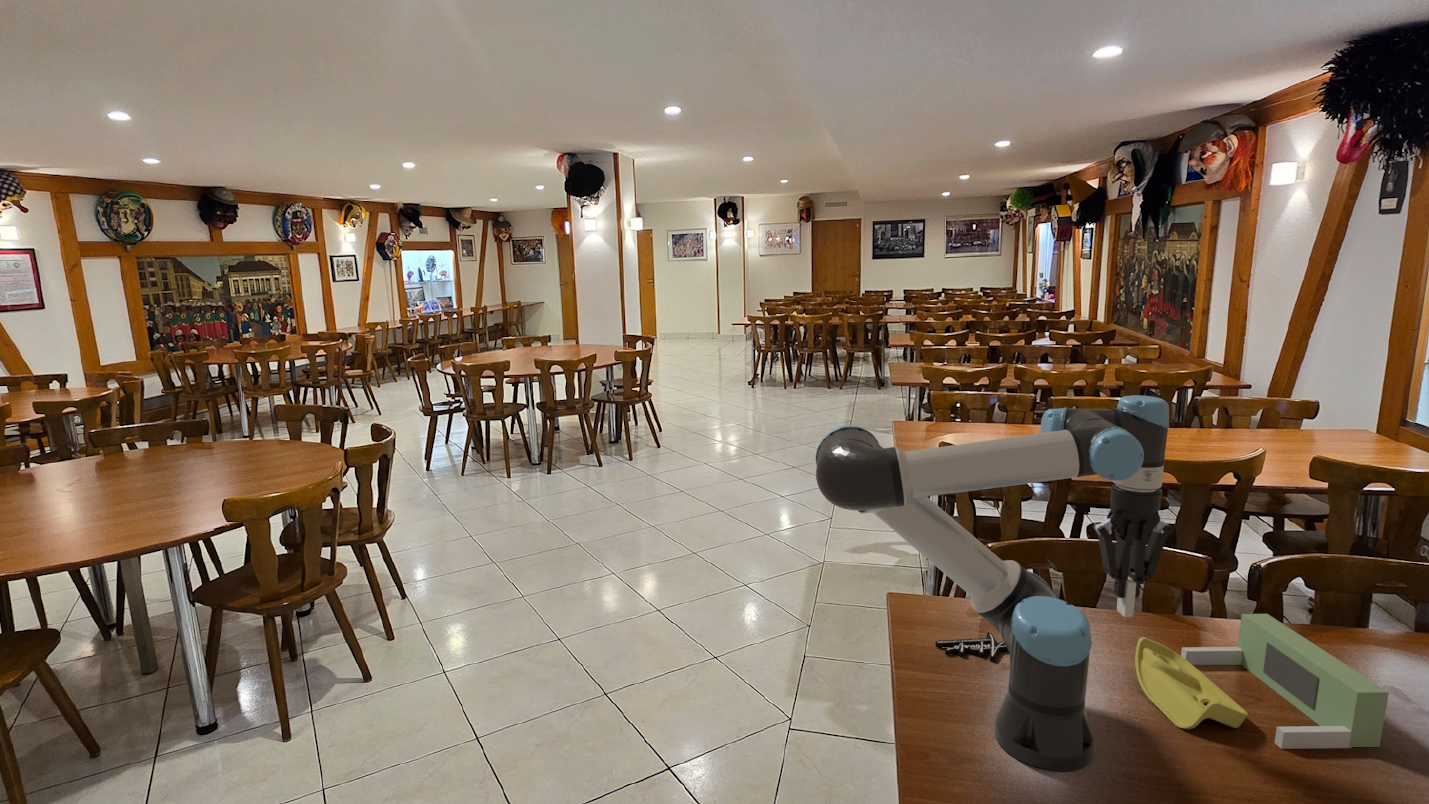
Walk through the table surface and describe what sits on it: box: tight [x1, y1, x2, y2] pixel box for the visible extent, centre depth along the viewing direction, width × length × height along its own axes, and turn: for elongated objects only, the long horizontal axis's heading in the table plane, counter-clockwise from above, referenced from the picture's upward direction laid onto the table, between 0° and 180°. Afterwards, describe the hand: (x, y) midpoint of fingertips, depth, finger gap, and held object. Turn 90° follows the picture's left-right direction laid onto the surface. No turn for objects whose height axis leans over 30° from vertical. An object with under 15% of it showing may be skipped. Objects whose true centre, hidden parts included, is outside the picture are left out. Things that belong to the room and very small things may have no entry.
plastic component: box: [1134, 636, 1249, 730], centre depth 135 cm, size 20×7×10 cm
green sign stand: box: [1180, 613, 1390, 750], centre depth 134 cm, size 16×27×10 cm, turn 0°
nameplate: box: [935, 632, 1009, 663], centre depth 154 cm, size 28×2×10 cm
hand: (1124, 613), depth 132 cm, fingers closed
